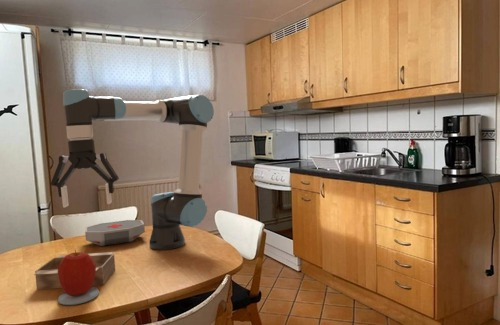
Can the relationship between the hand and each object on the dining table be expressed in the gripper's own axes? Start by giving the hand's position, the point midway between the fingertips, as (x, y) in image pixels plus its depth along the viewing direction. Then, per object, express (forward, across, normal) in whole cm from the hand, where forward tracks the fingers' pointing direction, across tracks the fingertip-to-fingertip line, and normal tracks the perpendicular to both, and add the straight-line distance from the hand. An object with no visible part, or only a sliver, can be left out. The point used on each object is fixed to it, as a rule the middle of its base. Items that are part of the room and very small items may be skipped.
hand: (88, 205), depth 117 cm
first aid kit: (+28, +6, -49) cm, 57 cm away
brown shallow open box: (+26, +8, -5) cm, 28 cm away
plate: (+26, +2, +10) cm, 28 cm away
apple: (+25, +2, +10) cm, 27 cm away
